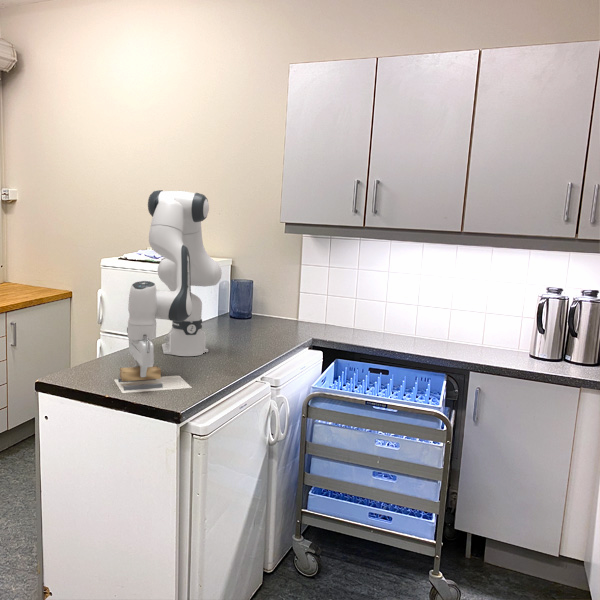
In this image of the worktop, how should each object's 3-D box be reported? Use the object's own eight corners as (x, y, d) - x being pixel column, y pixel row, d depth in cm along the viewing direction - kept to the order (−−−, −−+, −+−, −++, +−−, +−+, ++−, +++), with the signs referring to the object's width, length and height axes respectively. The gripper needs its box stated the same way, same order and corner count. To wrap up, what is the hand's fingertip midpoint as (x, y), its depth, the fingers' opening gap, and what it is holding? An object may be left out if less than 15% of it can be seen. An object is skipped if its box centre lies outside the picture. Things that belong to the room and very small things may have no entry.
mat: (113, 381, 187) (114, 376, 187) (179, 377, 197) (179, 372, 197) (122, 394, 174) (122, 389, 173) (191, 389, 184) (192, 384, 184)
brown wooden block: (157, 374, 188) (157, 366, 188) (160, 378, 184) (161, 369, 183) (119, 377, 182) (120, 368, 182) (122, 381, 178) (122, 372, 178)
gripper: (159, 338, 174) (158, 382, 175) (145, 326, 191) (143, 365, 193) (138, 339, 171) (137, 383, 172) (125, 326, 188) (124, 366, 190)
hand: (140, 374), depth 183 cm, fingers closed on brown wooden block, 5 cm apart
